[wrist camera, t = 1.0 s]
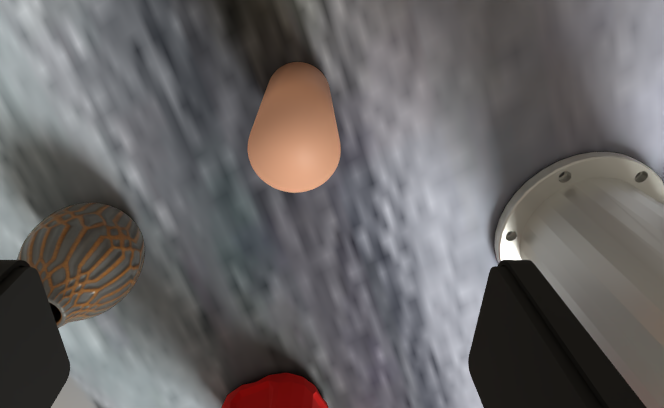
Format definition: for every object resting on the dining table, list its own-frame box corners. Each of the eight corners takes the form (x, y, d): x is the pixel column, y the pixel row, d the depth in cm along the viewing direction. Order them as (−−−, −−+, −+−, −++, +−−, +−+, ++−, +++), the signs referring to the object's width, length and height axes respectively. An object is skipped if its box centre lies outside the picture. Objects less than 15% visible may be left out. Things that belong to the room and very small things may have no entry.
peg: (330, 62, 27) (342, 105, 18) (329, 125, 29) (339, 192, 20) (265, 61, 27) (244, 104, 18) (268, 124, 28) (250, 192, 20)
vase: (107, 283, 34) (47, 375, 26) (34, 218, 31) (-57, 301, 23) (176, 242, 32) (135, 326, 25) (107, 170, 29) (36, 240, 22)
